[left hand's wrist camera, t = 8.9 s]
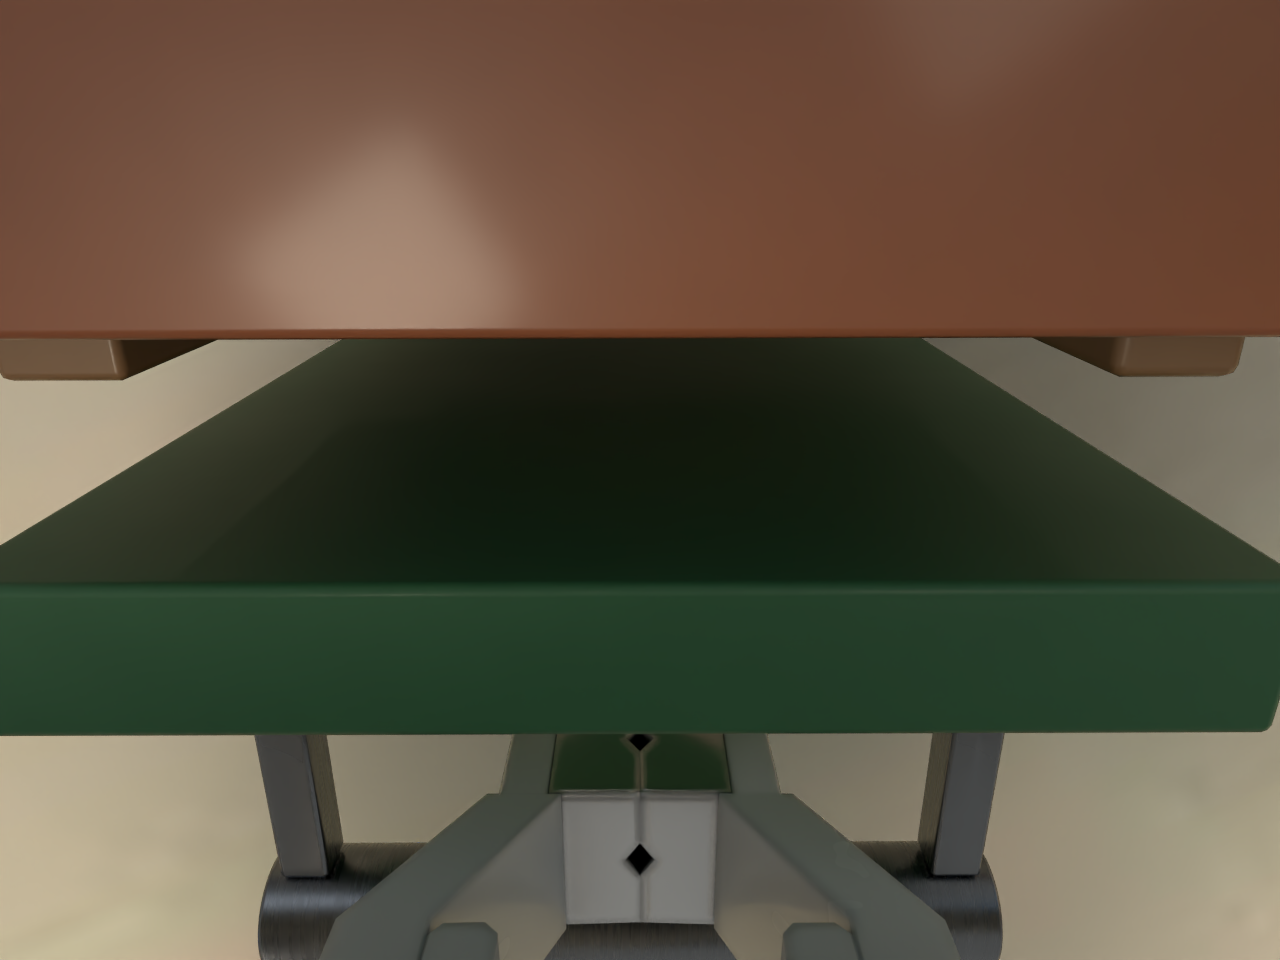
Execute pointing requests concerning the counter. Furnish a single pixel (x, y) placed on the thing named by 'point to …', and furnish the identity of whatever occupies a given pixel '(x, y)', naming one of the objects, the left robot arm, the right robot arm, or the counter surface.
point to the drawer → (631, 579)
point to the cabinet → (638, 169)
